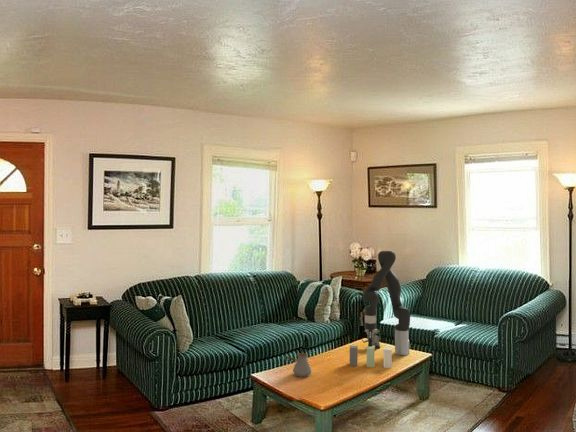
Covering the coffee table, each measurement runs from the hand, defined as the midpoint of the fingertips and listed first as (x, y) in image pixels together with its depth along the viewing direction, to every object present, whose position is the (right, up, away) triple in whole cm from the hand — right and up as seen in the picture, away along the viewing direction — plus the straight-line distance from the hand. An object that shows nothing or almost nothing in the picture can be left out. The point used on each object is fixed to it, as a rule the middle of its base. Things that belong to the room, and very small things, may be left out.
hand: (370, 347), depth 338 cm
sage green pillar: (-1, -10, -7) cm, 12 cm away
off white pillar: (+10, -11, -8) cm, 17 cm away
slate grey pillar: (-12, -10, -5) cm, 16 cm away
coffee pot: (-49, -11, -28) cm, 58 cm away
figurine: (+6, -9, +31) cm, 33 cm away
